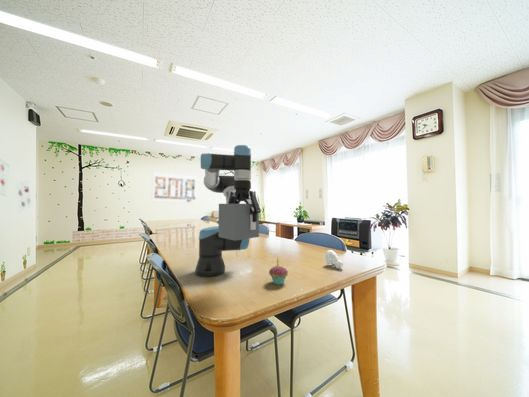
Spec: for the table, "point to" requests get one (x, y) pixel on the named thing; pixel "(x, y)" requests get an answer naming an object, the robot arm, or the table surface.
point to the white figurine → (333, 259)
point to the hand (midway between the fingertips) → (242, 228)
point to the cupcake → (278, 274)
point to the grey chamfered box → (236, 222)
